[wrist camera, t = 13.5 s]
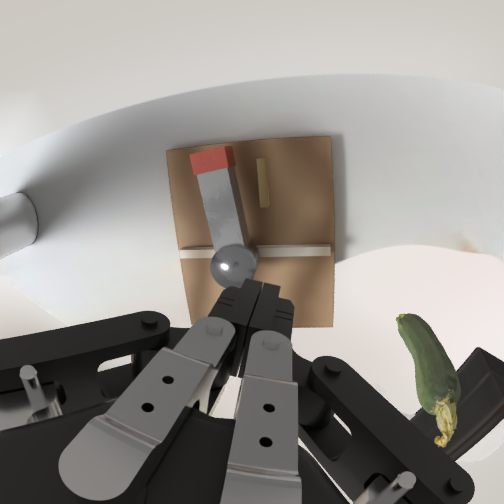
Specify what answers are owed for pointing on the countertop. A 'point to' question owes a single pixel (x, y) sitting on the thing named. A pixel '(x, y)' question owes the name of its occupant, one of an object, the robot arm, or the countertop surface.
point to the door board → (265, 223)
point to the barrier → (471, 404)
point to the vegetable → (432, 374)
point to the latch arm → (225, 217)
